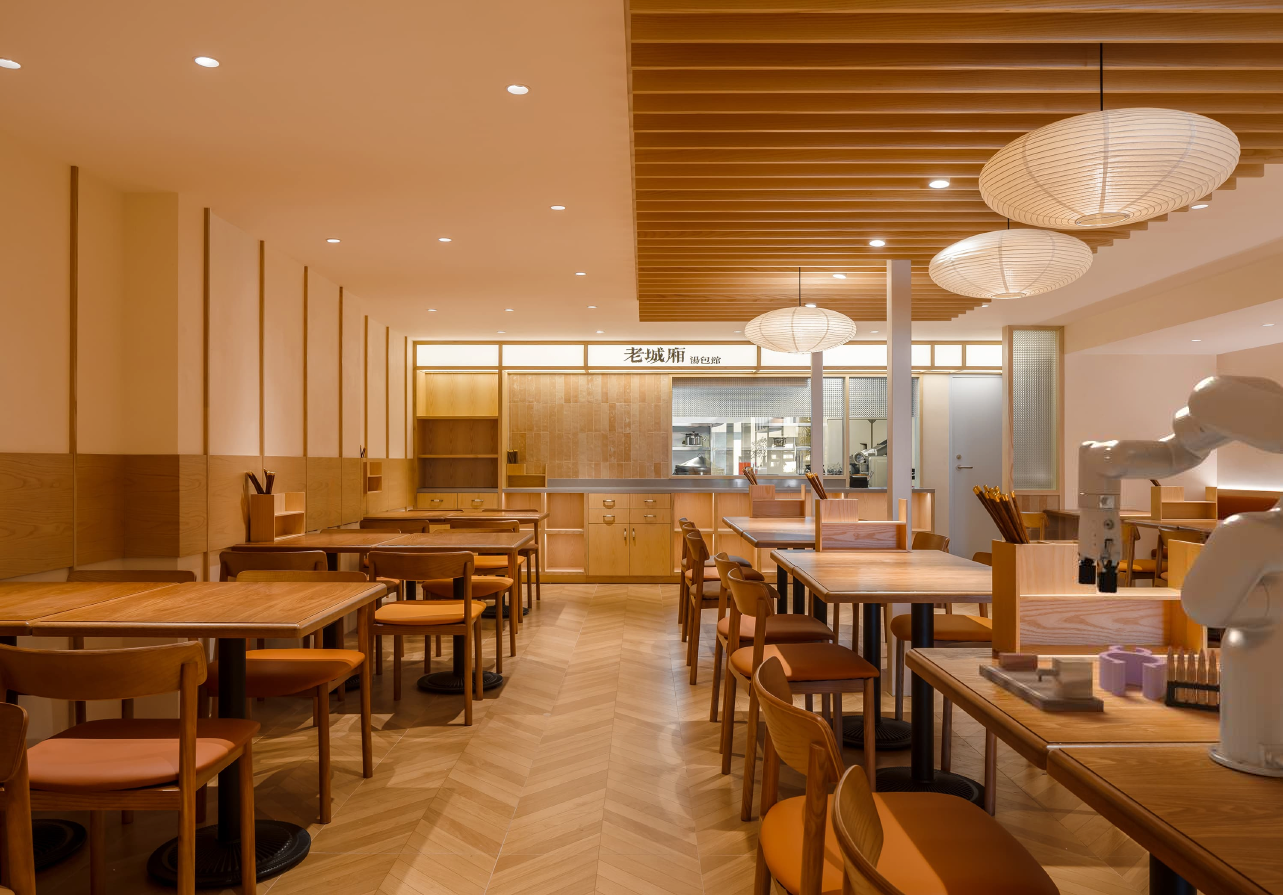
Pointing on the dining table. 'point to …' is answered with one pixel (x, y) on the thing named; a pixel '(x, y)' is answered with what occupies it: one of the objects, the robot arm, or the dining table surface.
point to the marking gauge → (1070, 677)
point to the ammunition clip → (1192, 682)
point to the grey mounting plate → (1033, 684)
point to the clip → (1132, 671)
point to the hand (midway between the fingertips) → (1097, 588)
